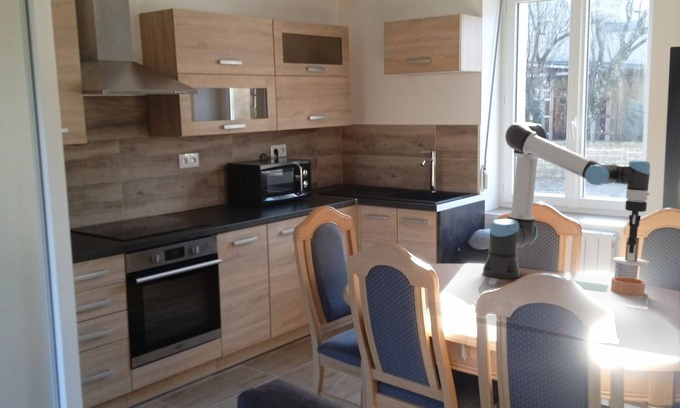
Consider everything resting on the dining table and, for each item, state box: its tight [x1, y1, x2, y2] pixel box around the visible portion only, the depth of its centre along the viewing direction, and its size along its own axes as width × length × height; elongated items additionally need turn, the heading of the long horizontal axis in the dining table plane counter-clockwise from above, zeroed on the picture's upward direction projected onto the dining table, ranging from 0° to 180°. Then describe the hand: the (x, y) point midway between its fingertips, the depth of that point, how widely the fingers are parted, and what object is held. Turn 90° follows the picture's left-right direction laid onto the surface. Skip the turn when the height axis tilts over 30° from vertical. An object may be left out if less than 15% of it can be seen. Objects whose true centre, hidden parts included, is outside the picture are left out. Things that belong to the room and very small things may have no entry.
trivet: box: [574, 280, 610, 293], centre depth 279 cm, size 13×13×1 cm
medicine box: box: [614, 262, 639, 279], centre depth 290 cm, size 8×4×9 cm, turn 84°
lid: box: [612, 236, 650, 267], centre depth 270 cm, size 13×13×10 cm
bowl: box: [610, 276, 646, 296], centre depth 272 cm, size 12×12×5 cm
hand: (630, 259), depth 271 cm, fingers closed on lid, 4 cm apart
